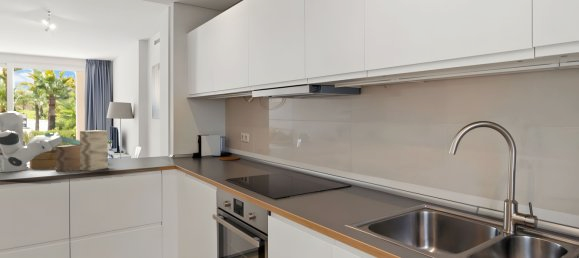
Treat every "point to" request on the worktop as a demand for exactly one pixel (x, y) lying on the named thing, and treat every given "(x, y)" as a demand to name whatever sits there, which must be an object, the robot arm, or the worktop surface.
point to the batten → (66, 139)
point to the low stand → (67, 157)
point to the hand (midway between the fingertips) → (55, 133)
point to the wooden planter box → (44, 160)
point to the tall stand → (93, 150)
